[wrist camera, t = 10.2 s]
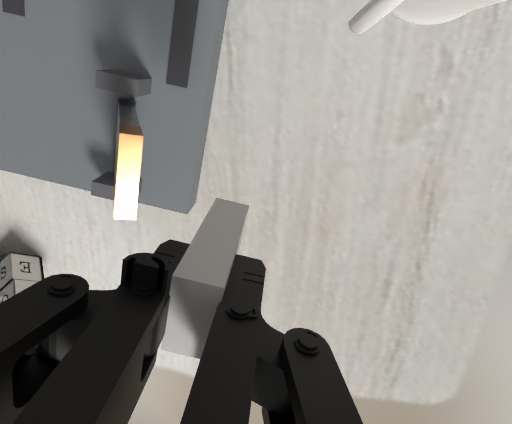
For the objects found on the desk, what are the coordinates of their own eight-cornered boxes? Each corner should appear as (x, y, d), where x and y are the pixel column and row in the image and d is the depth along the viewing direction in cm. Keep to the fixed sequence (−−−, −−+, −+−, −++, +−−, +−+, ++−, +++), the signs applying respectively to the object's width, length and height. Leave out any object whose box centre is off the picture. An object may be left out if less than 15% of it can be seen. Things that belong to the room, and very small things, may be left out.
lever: (116, 96, 25) (118, 128, 17) (135, 99, 25) (145, 132, 18) (112, 166, 26) (112, 222, 19) (130, 168, 27) (136, 223, 20)
